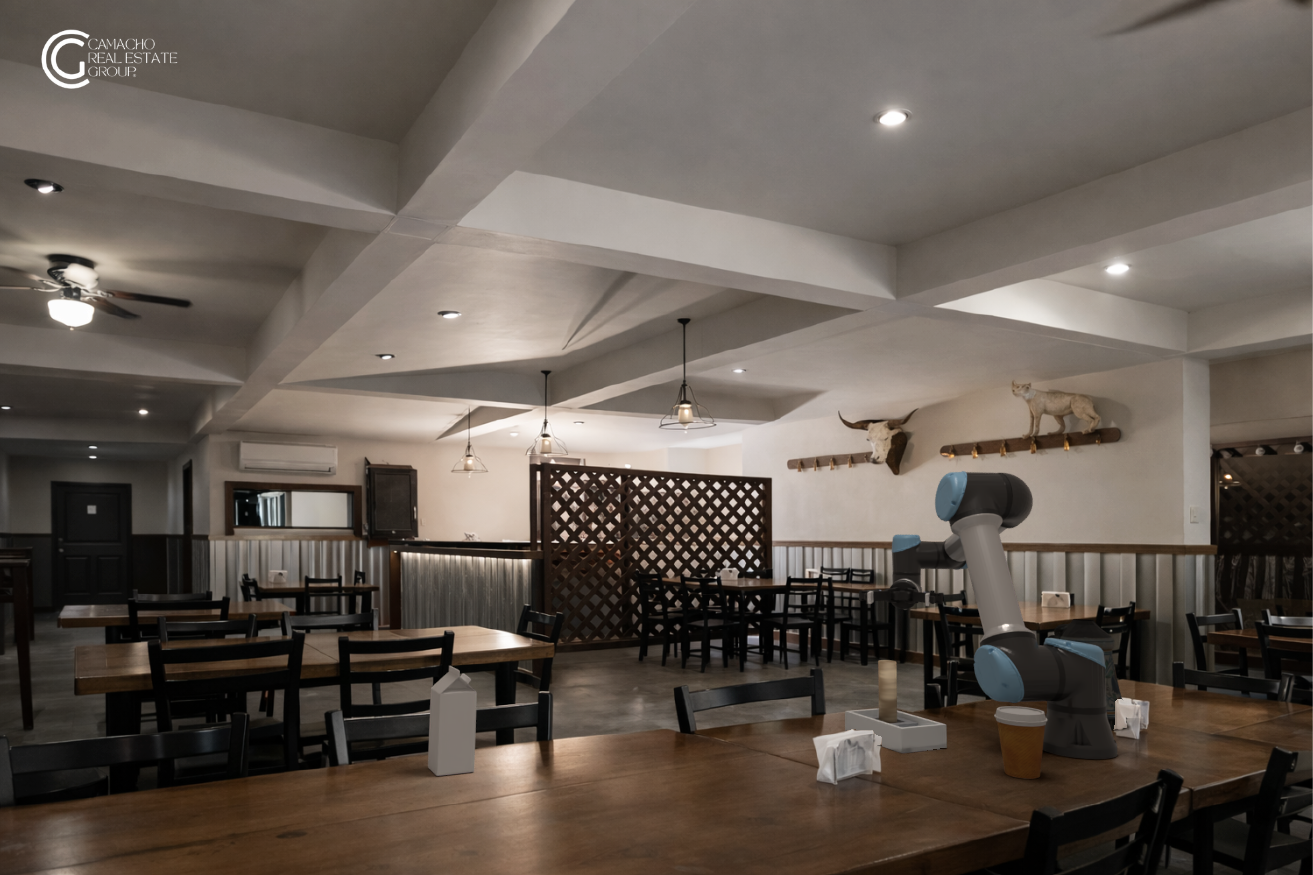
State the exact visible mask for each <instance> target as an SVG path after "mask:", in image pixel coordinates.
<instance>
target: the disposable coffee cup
mask: <svg viewBox="0 0 1313 875" xmlns="http://www.w3.org/2000/svg"><path fill="white" fill-rule="evenodd" d="M994 719H995V720H996V722H997V723H996V724H997V730H998V737H999V742H1000V751H1001V756H1002V763H1003V768H1004V774H1005V775H1007V776H1009V777H1013V778H1016V779H1023V780H1024V779H1025V780H1029V779H1031V780H1032V779H1038V778H1040V777H1041V770H1042V760H1043V751H1044V750H1043V740H1044V730H1045V725H1046V722H1047V718H1046V713H1045V711H1044V710H1041V709H1038V708H1032V707H1027V706H1015V705H1014V706H999V707H997V708H996V711H995V713H994Z"/></svg>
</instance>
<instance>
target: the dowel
mask: <svg viewBox="0 0 1313 875" xmlns="http://www.w3.org/2000/svg"><path fill="white" fill-rule="evenodd" d="M877 664H878V665H877V666H878V667H877V668H878V672H877V673H878V674H877V675H878V681H877V682H878V708H879V720H880V721H883V722H886V723H897V711H898V683H897V682H898V679H897V677H898V676H897V674H898V672H897V671H898V670H897V668H898V667H897V664H898V663H897V661H896V660H890V659H881V660H878V661H877Z"/></svg>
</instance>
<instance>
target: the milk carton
mask: <svg viewBox="0 0 1313 875" xmlns="http://www.w3.org/2000/svg"><path fill="white" fill-rule="evenodd" d="M471 682H472V679H471V677H469V676H468V675H467V674H465V673H461V675H460V670H459V669H458V668H455V667H453V666H452V665H448V672H446V674H445V675H443V676H442V677H441V678H440V679H439V680H438V681H437V682H436V683H434V685H432V686H431V687H430V699H429V700H430V702H429V703H430V705H429V728H428V729H429V730H428V751H427V752H428V755H427V757H428V758H427V760H428V761H427V767H428V768H427V769H429V770H430V771H431V772H432V773H433V774H434V775H435V776H437V777H438V776H439V777H440V776H446V775H447V776H449V775H457V774H458V775H459V774H467V773H474V772H475V760H476V759H475V758H476V757H475V754H476V729H477V728H476V724H477V722H476V720H477V696H478V695H477V694H478V693H477V690H476V689H475V688H473V687H472V686H471V685H470V684H469V683H471Z"/></svg>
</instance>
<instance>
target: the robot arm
mask: <svg viewBox="0 0 1313 875" xmlns="http://www.w3.org/2000/svg"><path fill="white" fill-rule="evenodd" d="M1033 499H1034V498H1033V494H1032V491H1031V489H1030V487H1029V486H1028V485H1027V483H1026V482H1025V481H1024V480H1023V479H1021V478H1020V477H1018V476H1016V475H1014V474H1012V473H1007V472H984V471H983V472H980V471H979V472H978V471H977V472H975V471H974V472H973V471H969V472H968V471H965V470H961V471H953V472H952V471H950V472H948V473H946V474H945V475H943V477H941V479H940V481H939V483H938V485H937V488H936V492H935V499H934V506H935V509H934V510H935V513H936V515H937V518H939V520H941V521H943V522H945V523H946V522H949V526H950V529H951V533H952V534H951V535H950V536H949V537H948V538H946V539H945V540H944V541H927V540H925V541H924V540H922V539H921V536H920V535H919V534H895V535H893V537H892V542H891V559H892V560H891V561H892V562H891V563H892V564H891V565H892V573H891V574H892V584H891V585H890V586H889V588H885V589H884V590H882V589H879V588H876V589H868V590H867V589H866V590H862V589H861V590H859V591H858V600H859V602H865V605H871V604H873V603H874V602H883V601H884V602H885V603H891V604H892V606H894V608H897V609H899V610H904V611H907V610H909V609H911V608H912V607H914V606H915V605H916V604H919V603H922V604H923V603H924V604H925V607H930V605H935V604H938V605H943V602H944V598H943V593H942V592H935V590H925V591H923V588H922V581H921V580H922V579H921V577H922V574H921V573H922V570H954V571H959V570H966V569H967V570H968V574H969V579H970V582H971V587H972V590H973V595H974V599H975V601H976V602H975V603H976V606H977V610H978V613H979V618H980V621H981V625H982V629H983V630H982V631H983V636H982V637H981V639H980V640H979V643H978V644H979V647H978V648H977V649H976V651H975V653H974V655H973V661H974V663H973V667H974V668H973V669H974V674H975V678H976V680H977V683H978V685H979V687H980V689H981V690H982V691H983V693H985V695H986V696H988V697H989V698H990V699H991V700H993V701H996V702H1002V703H1005V702H1006V703H1011V704H1017V703H1023V702H1024V703H1026V702H1031V703H1032V702H1046V713H1045V717H1046V718H1047V722H1046V725H1045V730H1044V740H1043V751H1045V752H1047V753H1049V754H1053V755H1057V756H1063V757H1068V758H1073V759H1074V758H1075V759H1076V758H1077V759H1085V760H1086V759H1087V760H1089V759H1090V760H1104V759H1105V760H1106V759H1113V758H1115V757H1118V744H1117V741H1116V740H1115V738H1114V734H1113V730H1111V727H1110V724H1109V722H1108V719H1107V712H1106V684H1105V669H1106V666H1105V660H1104V653H1103V650H1102V649H1101V648H1100V647H1098V646H1096V645H1092V644H1086V643H1081V642H1075V641H1068V640H1061V639H1054V638H1048V637H1046V638H1044V642H1043V645H1039V644H1038V641H1037V638H1036V635H1035V634H1036V633H1035V632H1034V631H1032V630H1030V629H1029V628H1027V627H1026V625H1025V622H1024V618H1023V614H1022V612H1021V608H1020V604H1019V600H1018V596H1017V594H1016V589H1015V586H1014V582H1013V579H1012V576H1011V573H1010V568H1009V565H1008V564H1009V563H1008V562H1007V561H1008V560H1007V558H1006V553H1005V550H1004V545H1003V543H1002V540H1001V537H1000V536H1001V535H1000V534H1002V533H1003V532H1005V530H1006V529H1008V530H1009V529H1014V528H1017V527H1018V526H1019V525H1020V524H1022V523H1023V522H1024V521H1026V520H1027V518H1028V517H1029V516H1030V514H1031V512H1032V509H1033V505H1034V504H1033V503H1034V500H1033Z"/></svg>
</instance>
